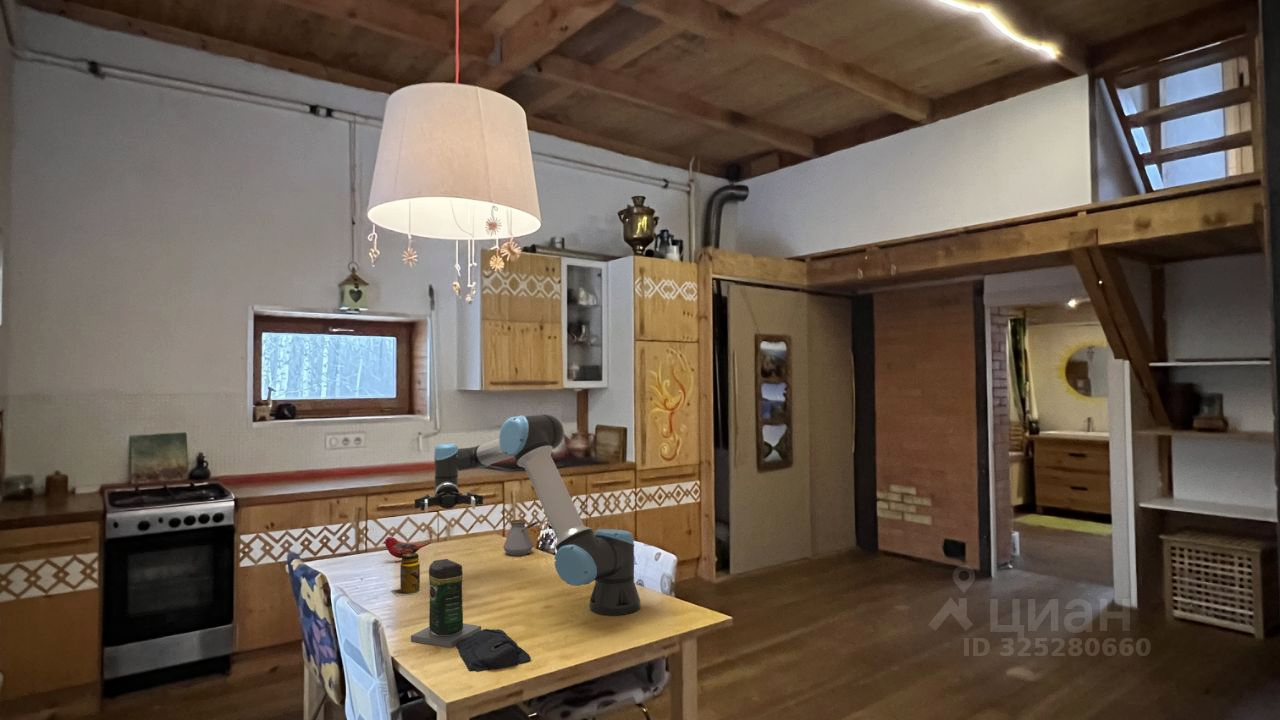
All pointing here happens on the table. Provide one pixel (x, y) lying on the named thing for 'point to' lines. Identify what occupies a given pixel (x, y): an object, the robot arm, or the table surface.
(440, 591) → the coffee jar
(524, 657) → the folded black cloth
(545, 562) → the table surface
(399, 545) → the decorative bird figurine
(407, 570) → the condiment
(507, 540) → the coffee pot
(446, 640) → the plate
